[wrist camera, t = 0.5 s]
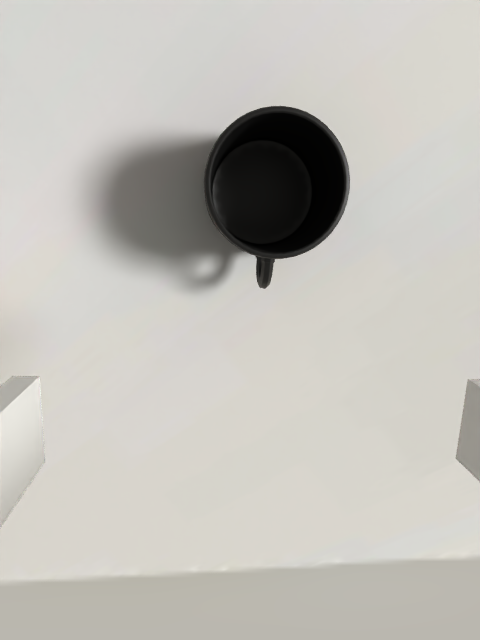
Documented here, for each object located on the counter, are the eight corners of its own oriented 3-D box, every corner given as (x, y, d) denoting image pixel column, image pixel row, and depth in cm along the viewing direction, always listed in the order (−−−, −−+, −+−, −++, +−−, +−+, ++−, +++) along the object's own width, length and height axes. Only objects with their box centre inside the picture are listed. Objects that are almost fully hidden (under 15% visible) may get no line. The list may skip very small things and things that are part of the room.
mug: (201, 277, 38) (199, 294, 30) (207, 129, 36) (207, 98, 27) (309, 283, 39) (338, 300, 30) (322, 138, 37) (358, 111, 28)
